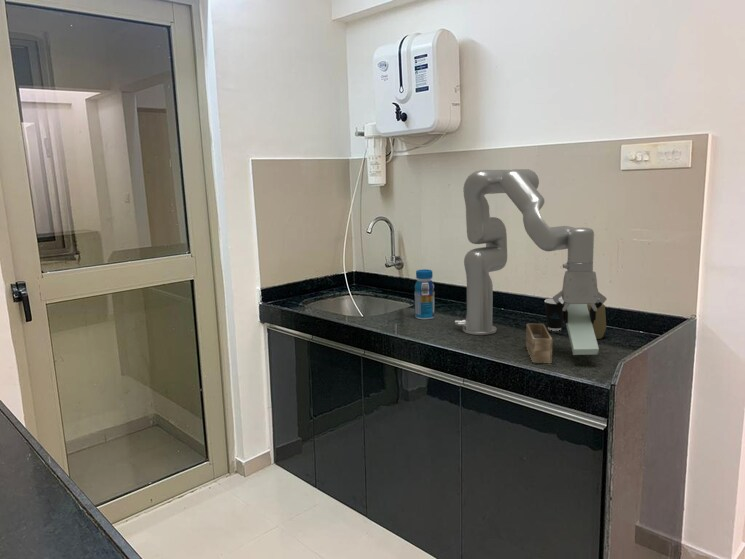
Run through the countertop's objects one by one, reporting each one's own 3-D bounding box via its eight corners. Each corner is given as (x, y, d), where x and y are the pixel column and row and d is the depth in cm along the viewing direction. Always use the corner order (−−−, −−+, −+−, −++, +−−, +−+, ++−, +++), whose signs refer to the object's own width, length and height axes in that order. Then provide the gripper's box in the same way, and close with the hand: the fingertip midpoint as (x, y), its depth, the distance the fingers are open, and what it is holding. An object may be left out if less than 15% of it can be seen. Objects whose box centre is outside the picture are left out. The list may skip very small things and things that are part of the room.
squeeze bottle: (577, 334, 205) (579, 286, 202) (599, 333, 206) (601, 285, 202) (588, 340, 197) (590, 290, 194) (610, 339, 198) (612, 289, 194)
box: (532, 363, 175) (532, 338, 173) (525, 346, 193) (526, 323, 191) (551, 364, 174) (552, 339, 172) (543, 346, 192) (543, 323, 190)
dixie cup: (551, 333, 208) (552, 304, 206) (539, 327, 215) (540, 299, 213) (569, 330, 210) (570, 302, 208) (557, 325, 218) (558, 297, 216)
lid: (573, 354, 172) (573, 349, 170) (562, 309, 187) (563, 303, 185) (597, 354, 171) (598, 348, 169) (585, 308, 185) (586, 302, 184)
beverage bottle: (410, 318, 236) (409, 271, 232) (422, 314, 242) (421, 268, 239) (427, 321, 230) (426, 272, 227) (438, 316, 237) (438, 269, 233)
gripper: (553, 269, 174) (552, 325, 177) (612, 268, 171) (610, 325, 174) (549, 266, 181) (548, 319, 184) (606, 265, 179) (604, 319, 182)
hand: (578, 322), depth 179 cm, fingers closed on lid, 7 cm apart
